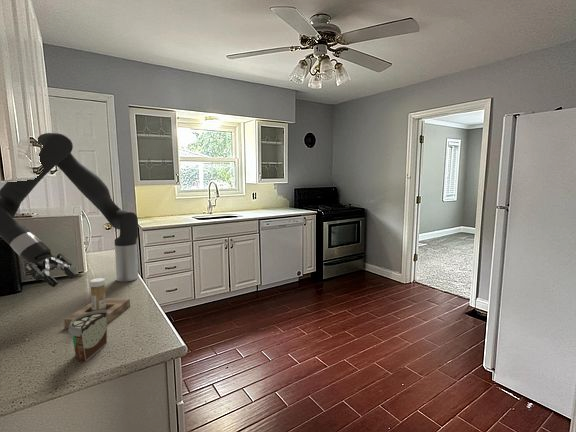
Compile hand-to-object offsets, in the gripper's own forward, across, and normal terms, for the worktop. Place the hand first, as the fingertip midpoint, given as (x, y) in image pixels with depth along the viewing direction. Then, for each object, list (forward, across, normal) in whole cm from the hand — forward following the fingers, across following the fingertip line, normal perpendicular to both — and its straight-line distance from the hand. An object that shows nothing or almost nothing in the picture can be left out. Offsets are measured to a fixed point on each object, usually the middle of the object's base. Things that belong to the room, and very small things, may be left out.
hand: (65, 281), depth 109 cm
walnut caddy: (+17, 0, +1) cm, 17 cm away
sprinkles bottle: (+17, 0, +1) cm, 17 cm away
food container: (+24, -22, -6) cm, 33 cm away
